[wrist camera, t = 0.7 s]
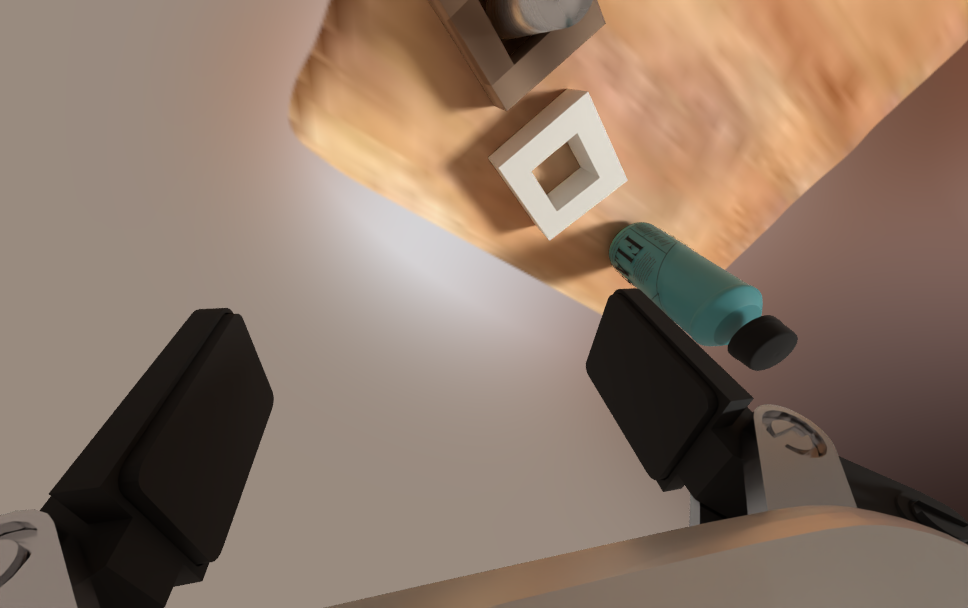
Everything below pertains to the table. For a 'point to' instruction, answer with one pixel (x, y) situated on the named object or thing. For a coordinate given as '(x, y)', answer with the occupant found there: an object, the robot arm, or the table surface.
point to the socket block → (523, 67)
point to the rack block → (541, 138)
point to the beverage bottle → (701, 296)
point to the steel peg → (534, 16)
